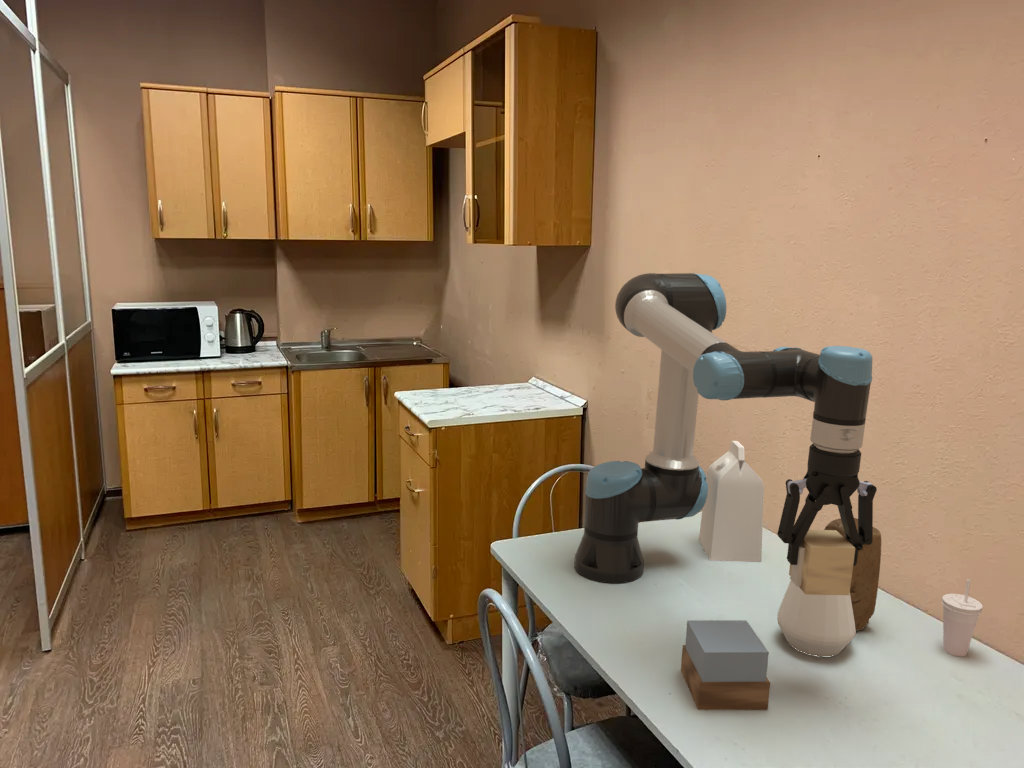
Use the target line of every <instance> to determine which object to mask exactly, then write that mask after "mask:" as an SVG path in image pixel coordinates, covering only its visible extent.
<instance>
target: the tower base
mask: <svg viewBox="0 0 1024 768" xmlns="http://www.w3.org/2000/svg"><path fill="white" fill-rule="evenodd" d="M681 649H682V650H681V662H680V663H681V664H680V672H681V674H682V676H683V679H684V682H685V683H686V686H687V688H688V690H689V692H690V695H691V698H692V700H693V701H694V704H695V707H696V708H697V710H698V711H699V710H700V711H701V710H702V711H703V710H704V711H707V710H709V711H710V710H711V711H712V710H713V711H718V710H719V711H768V710H769V702H770V701H769V700H770V691H771V681H770V679H769V678H768V677H767V676H766V682H702V680H701V678H700V676H699V674H698V672H697V670H696V668H695V666H694V664H693V662H692V660H691V658H690V656H689V655H688V653H687V651H686V649H685V644H682V647H681Z"/></svg>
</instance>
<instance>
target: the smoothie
mask: <svg viewBox="0 0 1024 768" xmlns="http://www.w3.org/2000/svg"><path fill="white" fill-rule="evenodd" d="M970 587H971V579H968V578H967V579H966V585H965V592H964V594H958V593H947V594H944V595H942V598H941V601H940V602H941V604H942V609H943V610H942V612H943V614H942V617H943V618H942V621H943V623H942V625H943V627H942V629H943V632H942V633H943V635H942V639H943V643H942V644H943V651H944V652H945V653H947V654H949V655H951V656H955V657H961V658H962V657H966V656H967V654H968V651H969V649H970V645H971V642H972V640H973V639H972V638H973V635H974V632H975V629H976V626H977V623H978V620H979V616H980V614H982V613H983V607H984V606H983V604H982V602H980V601H979V600H977V599H975V598H973V597H972V596H969V593H970Z"/></svg>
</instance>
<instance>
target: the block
mask: <svg viewBox="0 0 1024 768" xmlns="http://www.w3.org/2000/svg"><path fill="white" fill-rule="evenodd" d="M854 520H855V524H856V528H857V532H858V517H857V518H856V517H854ZM823 530H836V531H838V532H839V533H840V534H841V535H842V536H843V537H844V538H845V539H846V536H845V532H844V528H843V524H842V521H841V517H840V518H836V519H834V520H831V521H830V522H828V523H827V525H826V526H825V528H824V529H823ZM881 534H882V533H881V531H880V530H879V529H878V528H876V527H874V526H873V539H872V543H871V544H870V545H867V544H865V545H863V548H862V550H859V551H858V557H857V564H856V565H855V566H853V570H852V578H851V586H850V596H851V603H852V609H853V615H854V621H855V629H856V632H857V631H861V630H864V628H865V627H867V626H868V625H869V624H870V619H871V618H872V616H873V615H874V614H875V610H876V603H877V598H878V592H879V591H878V589H879V579H880V574H881V573H880V572H881V571H880V570H881V557H882V535H881ZM846 540H847V539H846Z"/></svg>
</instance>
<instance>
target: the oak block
mask: <svg viewBox="0 0 1024 768" xmlns="http://www.w3.org/2000/svg"><path fill="white" fill-rule="evenodd" d="M802 545H803V547H804V548H805V555H804V564H803V573H802V581H801V586H799V587H800V589H801V590H802V591H803V592H804V594H805V595H849V593H850V586H851V578H852V570H853V563H854V555H855V547H854V546H853V545H852V544H850V543H849V542H848V541H847V540H846V539H845V538H844V537H843V536H842V535H841V534H840V533H839V532H838V531H836V530H824V529H809V530H808V532H807V534H806V536H805V538H804V540H803V542H802ZM791 566H792V565H791V564H790V563H789V570H788V575H789V576H790V574H791Z"/></svg>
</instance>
